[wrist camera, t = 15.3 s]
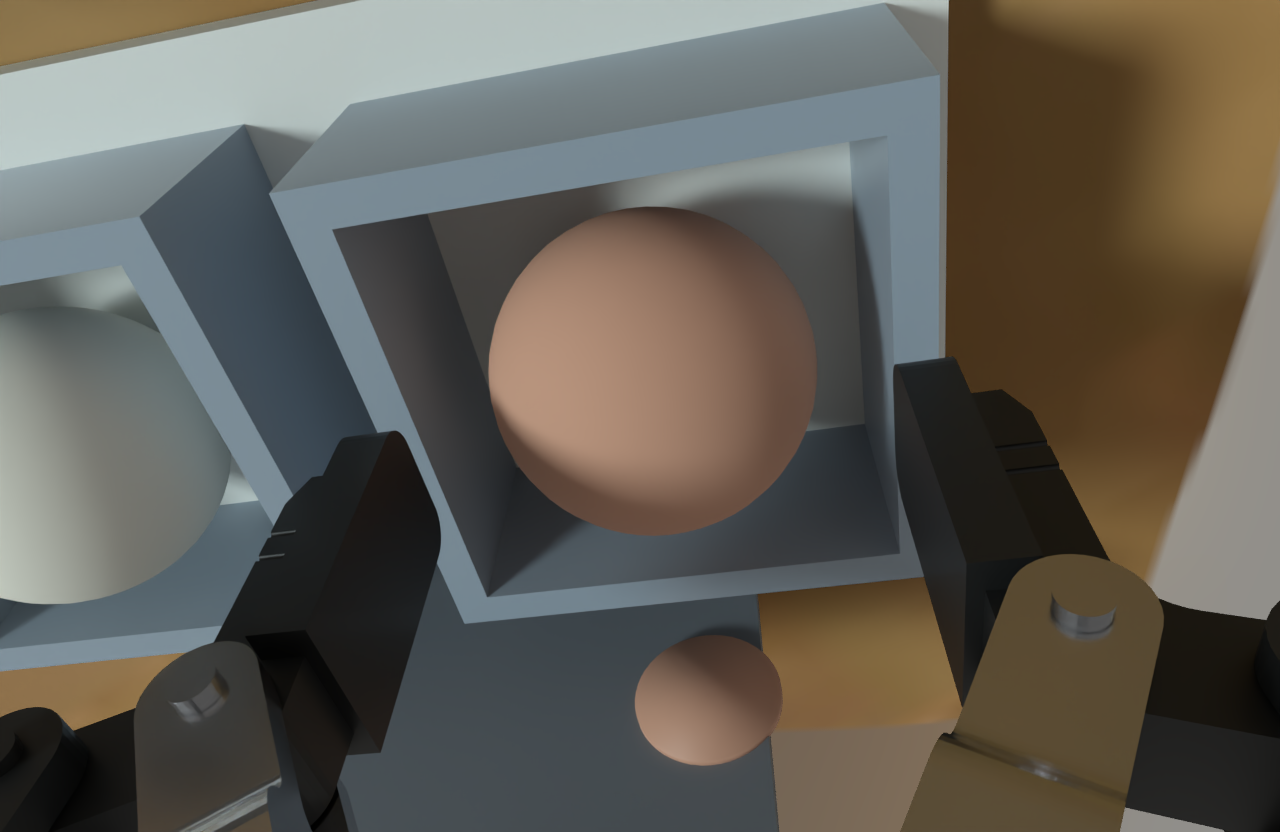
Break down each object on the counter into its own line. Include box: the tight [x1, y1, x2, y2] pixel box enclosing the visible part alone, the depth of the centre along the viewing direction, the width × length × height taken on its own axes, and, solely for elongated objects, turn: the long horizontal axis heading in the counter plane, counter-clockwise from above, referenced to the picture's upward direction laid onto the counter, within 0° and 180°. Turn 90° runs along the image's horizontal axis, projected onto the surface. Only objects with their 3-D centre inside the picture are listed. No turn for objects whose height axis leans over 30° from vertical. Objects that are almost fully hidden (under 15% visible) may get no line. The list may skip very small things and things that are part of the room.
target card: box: [339, 564, 783, 832], centre depth 18 cm, size 1×13×8 cm, turn 101°
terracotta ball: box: [488, 206, 817, 536], centre depth 14 cm, size 5×5×5 cm
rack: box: [0, 0, 949, 671], centre depth 16 cm, size 11×20×4 cm, turn 101°
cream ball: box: [0, 306, 231, 604], centre depth 15 cm, size 5×5×5 cm
